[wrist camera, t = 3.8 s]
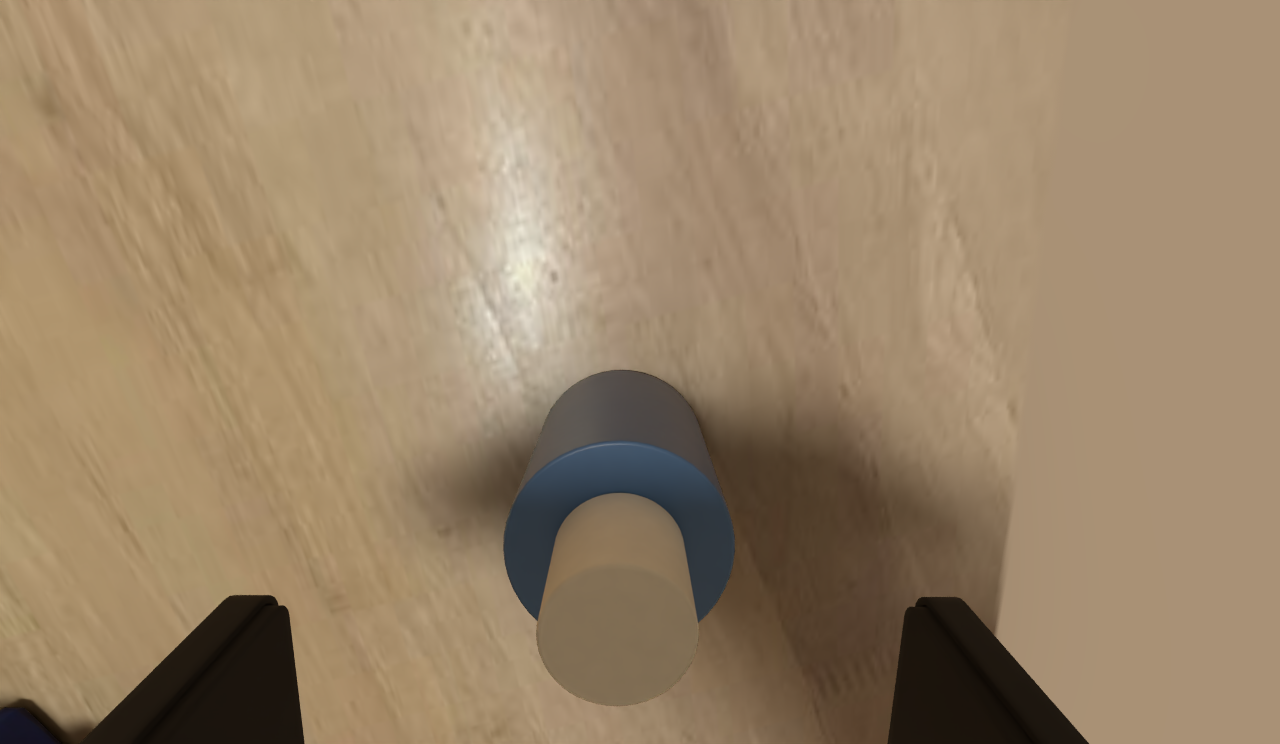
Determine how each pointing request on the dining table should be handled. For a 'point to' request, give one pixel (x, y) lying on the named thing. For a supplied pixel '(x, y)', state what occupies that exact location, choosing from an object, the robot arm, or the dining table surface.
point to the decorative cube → (22, 728)
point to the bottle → (619, 538)
